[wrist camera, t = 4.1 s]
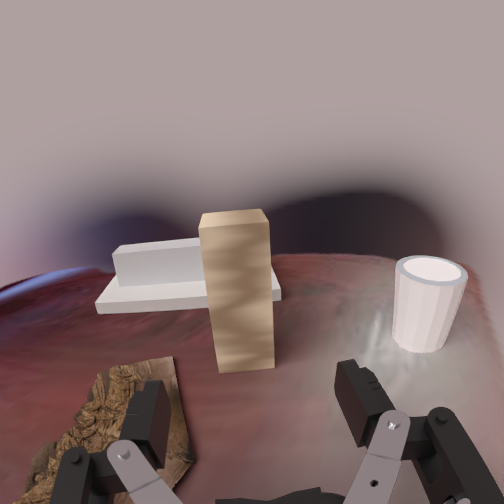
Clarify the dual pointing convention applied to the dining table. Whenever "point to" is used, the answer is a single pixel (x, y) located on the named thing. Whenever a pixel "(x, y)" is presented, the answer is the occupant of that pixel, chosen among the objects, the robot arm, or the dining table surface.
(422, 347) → the white cylinder
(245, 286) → the maple block
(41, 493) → the wooden fragment
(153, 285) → the ridge stand
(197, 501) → the dining table surface
